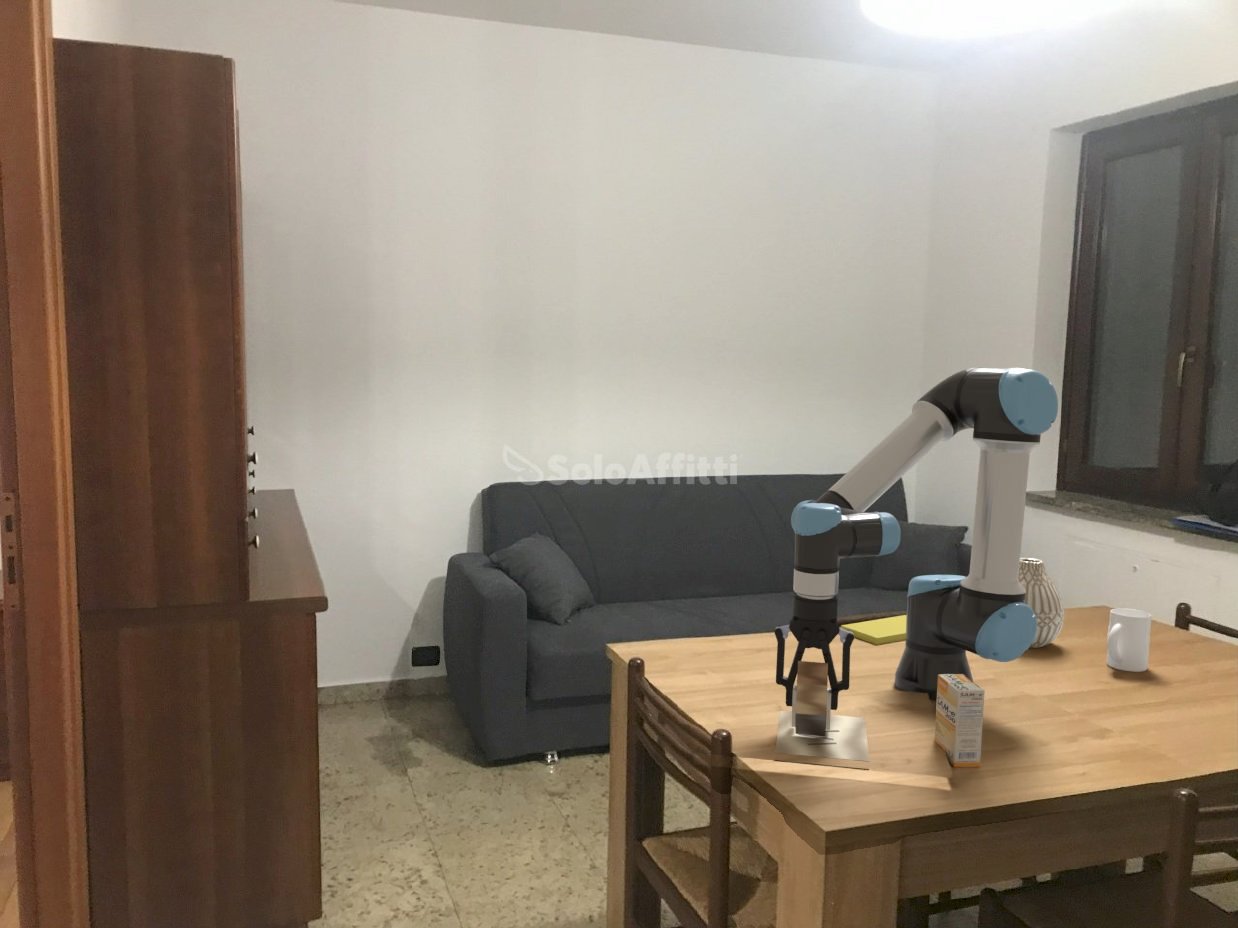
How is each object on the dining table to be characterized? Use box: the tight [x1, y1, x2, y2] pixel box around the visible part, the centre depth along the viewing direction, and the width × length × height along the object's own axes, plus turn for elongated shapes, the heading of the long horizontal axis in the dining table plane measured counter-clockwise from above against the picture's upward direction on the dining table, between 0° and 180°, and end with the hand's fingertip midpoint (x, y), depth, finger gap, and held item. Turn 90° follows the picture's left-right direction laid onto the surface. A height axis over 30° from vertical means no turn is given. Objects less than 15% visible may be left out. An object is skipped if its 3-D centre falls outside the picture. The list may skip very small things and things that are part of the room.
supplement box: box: [934, 674, 985, 768], centre depth 162 cm, size 8×5×13 cm, turn 5°
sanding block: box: [795, 660, 829, 736], centre depth 166 cm, size 5×8×10 cm
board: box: [774, 710, 870, 771], centre depth 168 cm, size 15×20×2 cm
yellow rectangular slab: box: [840, 614, 907, 646], centre depth 239 cm, size 12×2×24 cm
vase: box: [1018, 557, 1065, 649], centre depth 231 cm, size 16×16×20 cm
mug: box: [1106, 607, 1152, 673], centre depth 213 cm, size 8×12×12 cm
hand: (810, 725), depth 169 cm, fingers closed on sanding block, 5 cm apart
